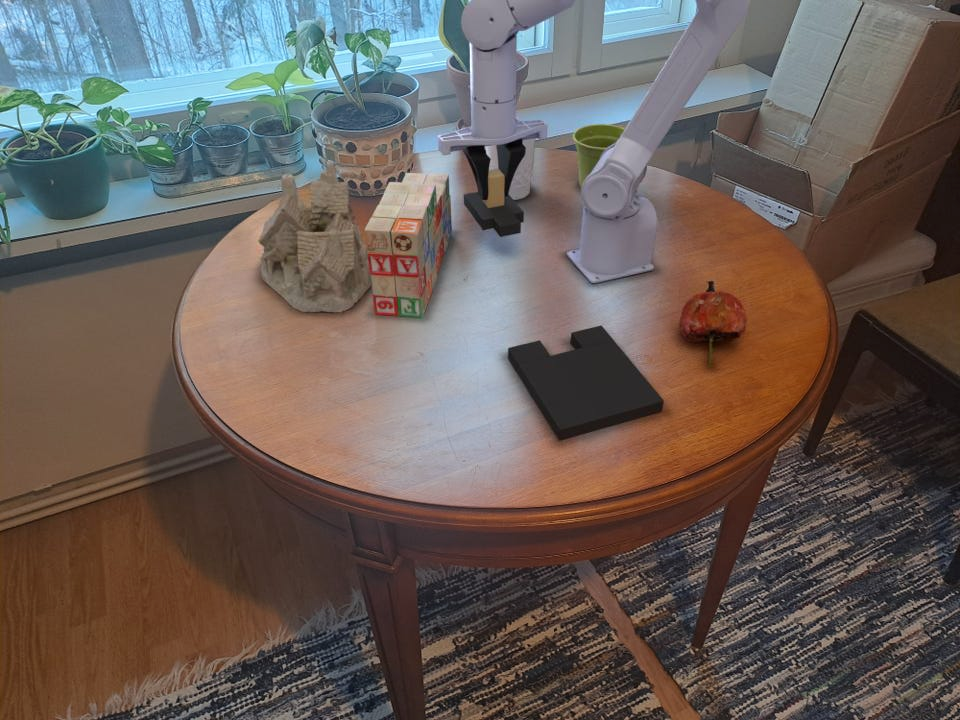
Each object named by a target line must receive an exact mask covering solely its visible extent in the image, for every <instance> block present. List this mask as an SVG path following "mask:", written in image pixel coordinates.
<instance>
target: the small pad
mask: <svg viewBox="0 0 960 720" xmlns="http://www.w3.org/2000/svg"><path fill="white" fill-rule="evenodd" d="M504 180H505V176H504V174H503V173H502V172H501V171H500V170H499V169H493V170H489V173H488V192H489V194H488V200H482V198H481V197H480V196H479V195H478V191H475V192H469V193H464V194H463V205H464V207H465V208H466V209H467V211H468V212H469V213H470V214H471V215H470V216H472V217H473V219H474V220H475V222H476V223H477V224H478V225H479V227H480V228H481V230H482V231H486V230H491V229H493V230H494V231H495V232H496V234H497V235H498V237H500V238H502V237H507V236H512V235H517V234H521V232H522V231H521V230H522V229H521V228H522V223H524V222H525V212H524V211H523V209H522V208H521V207H520V206H519V204H518V203H517V202H516V200H513V199H512V198H511V197H510V195H509V194H508V196H505V197H504Z"/></svg>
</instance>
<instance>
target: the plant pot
mask: <svg viewBox="0 0 960 720" xmlns="http://www.w3.org/2000/svg"><path fill="white" fill-rule="evenodd" d="M625 129H626V127H623V126H618V125H615V124H607V123H606V124H605V123H593V124H588V125H585V126H581V127H578V128H577V129H575V131H574V132H573V134H572V139H573V141H574V142H575V148H576V153H577V162H578V177H579V178H578V179H579V186H580V189H581V188H582V184H583V182H584V180H585V179H586V177H587V176H588V175H589V174H590V173H591V172H592V170H593V169H594V167H595V166H596V164H597V163H598V161H599V160H600V157H601V155H602V153H603V152H604V151H605V149H607V148H608V147H609V146H611V145H613V144H614V143H616V142H617V141H618V140H619V138H620V137H621V135H622V134H623V132H624V130H625Z"/></svg>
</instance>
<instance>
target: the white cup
mask: <svg viewBox="0 0 960 720" xmlns="http://www.w3.org/2000/svg"><path fill="white" fill-rule="evenodd" d="M536 139H537V138H534V139H528V140H523V143H522V144H523V145H524V146H525V147H526V153H525V156H524V158H523V159H522V160H521V162H520V164H519V166H518V167H517V169H516V172H515V174H514V177H513V179H512V182H511V186H510V190H509V195H510V197H511V198H512V199H513V200H514V201H517V200H521V199H525V198H526V197H527V196H528V195H530V191H531V185H532V184H531V182H532V177H533V170H534V163H535V152H536V151H535V149H536ZM484 149H485V150H486V154H487V155H488V156H489V157H490V158H491V160H490V165H489V170H493V169H498V156H497V147H496V145H491V146H485V147H484Z"/></svg>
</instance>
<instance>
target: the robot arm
mask: <svg viewBox="0 0 960 720" xmlns="http://www.w3.org/2000/svg"><path fill="white" fill-rule="evenodd" d="M575 3H576V0H470V1H469V2H468V3H467V4H466V5H465V7H464V8H463V10H462V14H461V19H460V20H461V22H460V25H461V30H462V32H463V36H464V37H465V39H466V40H467V41H468V42H469V80H470V81H469V82H470V84H469V85H470V87H469V88H470V89H469V90H470V123H471V124H470V125H469V126H466V127H463V128H461V129H457V130H454V131H452V132H448V133H444V134H439V135H437V145H438V151H439V152H440V154H442V156H448V155H451V154H452V153H453V152H458V151H459V152H460V151H462V152H463V154H464V156H465V158H466V160H467V162H468V164H469V167H470V169H471V171H472V173H473V177H474V180H475V185H476V189H477V192H478V195H479V196H480V197H481V198H482V200H488V194H489V192H488V173H489V165H490V160H491V158H490V157H489V156H488V155H487V154H486V150H485V146H491V145H496V147H497V156H498V169H499V170H500V171H501V172H502V173H503V174H504V176H505V180H504V197H505V196H508V194H509V190H510V186H511V182H512V179H513V177H514V174H515V172H516V169H517V167H518V166H519V164H520V162H521V160H522V159H523V158H524V156H525V153H526V147H525V146H524V145H523V144H522V143H523V140H528V139H534V138H536V139H537V140H547V139H548V123H546V122H545V121H544V120H543V119H536V120H516V119H517V118H516V117H517V67H518V65H517V64H518V57H517V48H518V47H517V44H518V43H517V42H518V36H517V35H518V33H519V32H525V31H527V30H530V29H531V28H533V27H536V26H537V25H539V24H541V23H543V22H545V21H547V20H549V19H551V18H553V17H556V16H557V15H559V14H561V13H562V12H564V11H567V10H569V9H570V8H572V7H573V6H574V4H575ZM695 3H696V12H695V14H694V16H693V17H692V18H691V21H690V22H689V24H688V26H687V27H686V29H685V31H684V32H683V33H682V35H681V36H680V38H679V40H678V42H677V44H676V45H675V47H674V48H673V50H672V51H671V53H670V55H669V57H668V58H667V60H666V61H665V63H664V65H663V67H662V68H661V70H660V71H659V73H658V75H657V76H656V78H655V80H653V83H652V84H651V86H650V87H649V89H648V90H647V92H646V94H645V96H644V97H643V98H642V101H641V102H640V104H639V105H638V107H637V109H636V110H635V112H634V114H633V116H632V117H631V119H630V121H629V122H628V124H627V125H626V127H625V130H624V132H623V134H622V135H621V137H620V138H619V140H618V141H617V142H616V143H614V144H613V145H611V146H609V147H608V148H607V149H605V151H604V152H603V153H602V155H601V157H600V160H599V161H598V163H597V164H596V166H595V167H594V169H593V170H592V172H591V173H590V174H589V175H588V176H587V177H586V179H585V180H584V182H583V184H582V188H581V187H580V197H581V200H582V203H583V206H582V207H583V208H582V218H581V228H580V229H581V231H580V241H579V248H578V249H573V250H569V251H567V252H566V257H568V258H569V260H570V261H571V262H572V263H573V264H574V265H575V267H577V269H578V270H579V271H580V273H582V274H583V275H584V277H585V278H586V279H587V280H588V281H589V282H590V283H591V284H598V283H602V282H607V281H612V280H616V279H621V278H624V277H629V276H633V275H638V274H642V273H645V272H652V271H654V268H655V265H653V264H652V260H653V254H654V248H655V243H656V237H657V232H658V231H657V230H658V216H657V212H656V209H655V207H654V205H653V203H652V201H651V200H649V199H648V198H647V197H643V196H642V197H640V196H639V193H638V187H639V186H640V184H641V183H642V182H643V180H644V178H645V177H646V175H647V172H648V163H649V162H650V160H651V158H652V157H653V155H654V153H655V152H656V150H657V149H658V148H659V146H660V144H661V143H662V141H663V140H664V138H665V137H666V135H667V134H668V132H669V131H670V129H671V128H672V126H673V125H674V124H675V122H676V121H677V119H678V118H679V116H680V114H681V113H682V111H683V110H684V108H685V107H686V105H687V104H688V102H689V101H690V99H691V98H692V96H693V94H694V93H695V92H696V90H697V89H698V87H699V85H700V84H701V83H702V81H703V80H704V78H705V77H706V75H707V74H708V72H709V71H710V69H711V68H712V66H713V65H714V63H715V62H716V60H717V59H718V57H719V55H720V54H721V53H722V51H723V50H724V48H725V46H726V45H727V43H728V42H729V40H731V38H732V36H733V34H734V33H735V32H736V30H737V28H739V25H740V24H741V23H742V21H743V19H744V18H745V15H746V13H747V12H748V9H749V7H750V5H751V0H695Z"/></svg>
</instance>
